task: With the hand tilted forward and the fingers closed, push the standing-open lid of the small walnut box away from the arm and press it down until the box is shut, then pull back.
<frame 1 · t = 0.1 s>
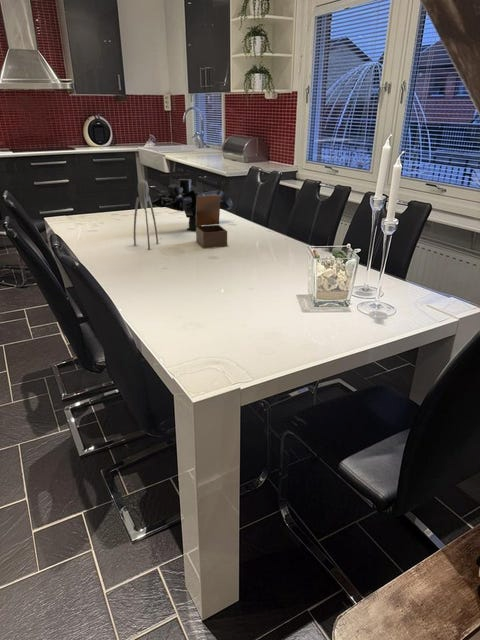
hand: (158, 204, 226), 17 cm above the table, tool horizontal, fingers open, 9 cm apart
door: (207, 210, 223), point 15 cm above the table, hinge at 80.0°
grey three-legged stand fixture: (144, 246, 219), on the table
walnut box: (211, 243, 224), on the table
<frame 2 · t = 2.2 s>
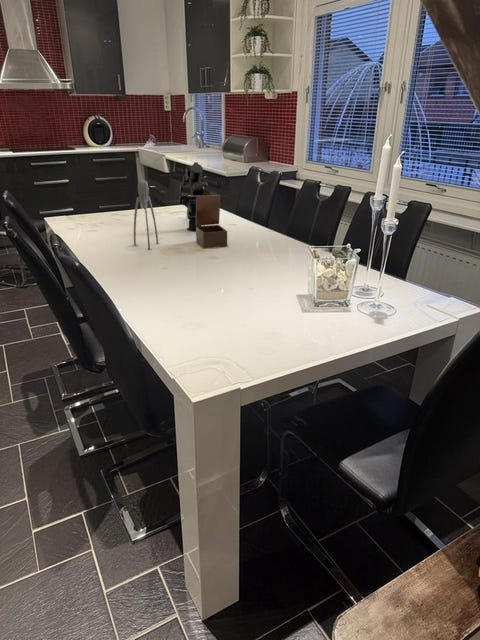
hand: (200, 211, 231), 13 cm above the table, tool tilted 50°, fingers open, 9 cm apart
nothing on the table moved.
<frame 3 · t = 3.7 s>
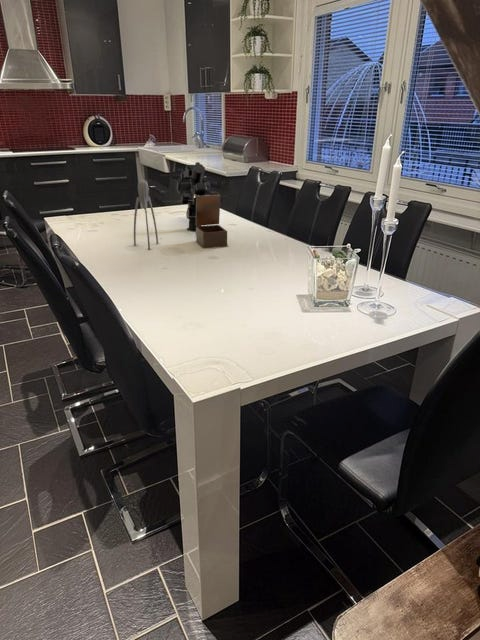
hand: (203, 212, 231), 13 cm above the table, tool tilted 45°, fingers closed
nothing on the table moved.
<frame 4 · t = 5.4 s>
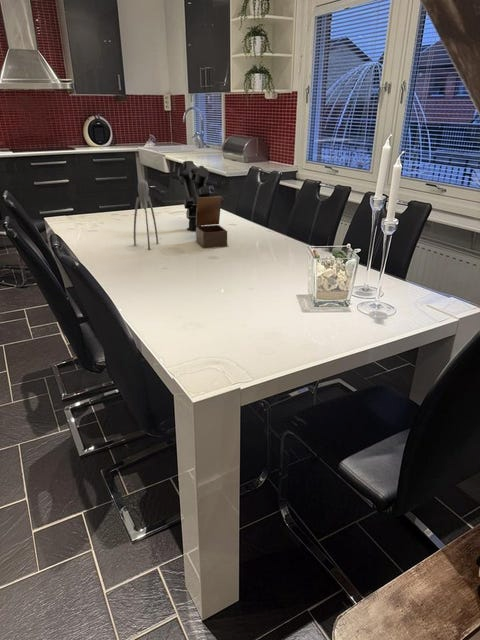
hand: (207, 216, 225), 12 cm above the table, tool tilted 45°, fingers closed, pressing on door
door: (208, 211, 222), point 15 cm above the table, hinge at 72.6°, touching gripper
everything else where it was.
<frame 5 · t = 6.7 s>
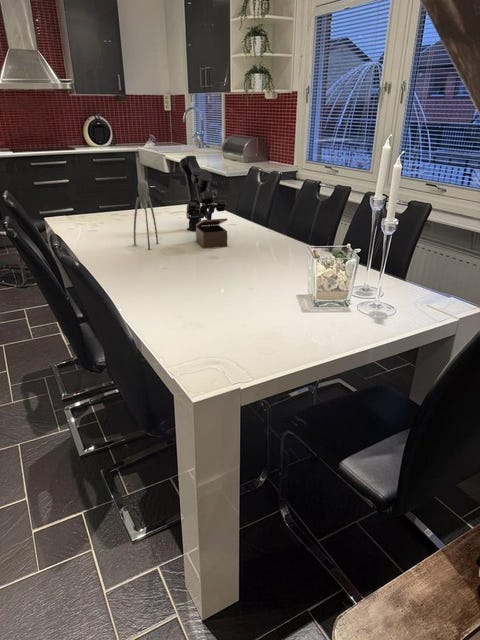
hand: (210, 221, 221), 10 cm above the table, tool tilted 45°, fingers closed, pressing on door
door: (211, 222, 220), point 10 cm above the table, hinge at 20.3°, touching gripper
everything else where it was.
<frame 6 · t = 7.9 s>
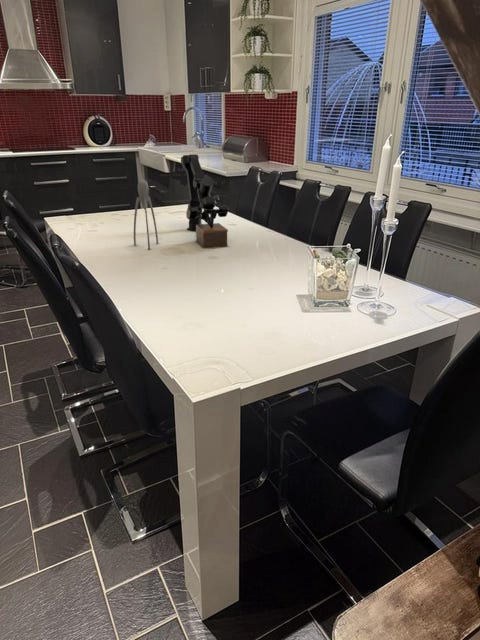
hand: (212, 227, 219), 8 cm above the table, tool tilted 45°, fingers closed, pressing on door
door: (211, 228, 221), point 8 cm above the table, hinge at -0.2°, touching gripper, walnut box
everything else where it was.
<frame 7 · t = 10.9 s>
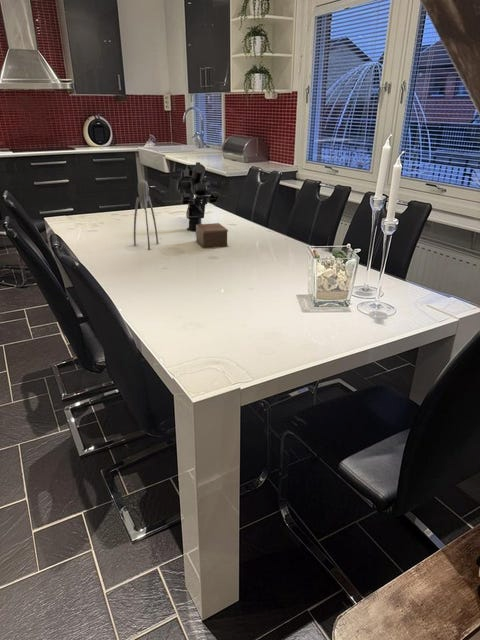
hand: (203, 212, 230), 13 cm above the table, tool tilted 45°, fingers closed
door: (211, 228, 221), point 8 cm above the table, hinge at -0.2°, touching walnut box
everything else where it was.
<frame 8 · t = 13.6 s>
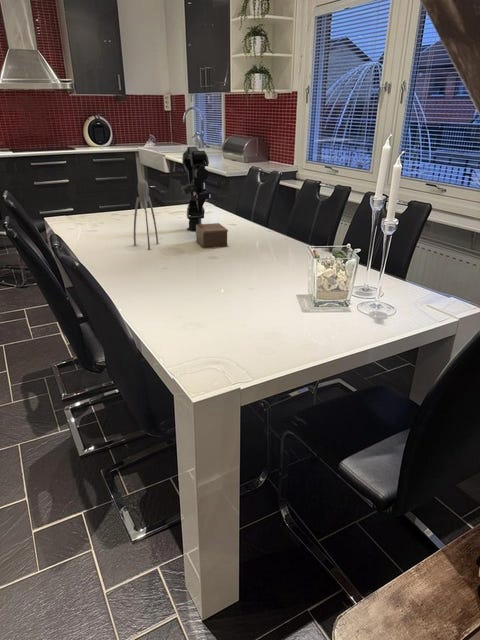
hand: (199, 210, 232), 13 cm above the table, tool pointing down, fingers closed
nothing on the table moved.
at the end: door at +0° (first picture: +80°); grey three-legged stand fixture moved 0.2 cm from its start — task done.
